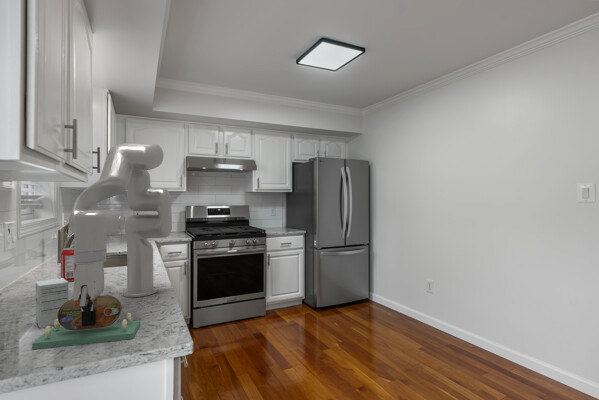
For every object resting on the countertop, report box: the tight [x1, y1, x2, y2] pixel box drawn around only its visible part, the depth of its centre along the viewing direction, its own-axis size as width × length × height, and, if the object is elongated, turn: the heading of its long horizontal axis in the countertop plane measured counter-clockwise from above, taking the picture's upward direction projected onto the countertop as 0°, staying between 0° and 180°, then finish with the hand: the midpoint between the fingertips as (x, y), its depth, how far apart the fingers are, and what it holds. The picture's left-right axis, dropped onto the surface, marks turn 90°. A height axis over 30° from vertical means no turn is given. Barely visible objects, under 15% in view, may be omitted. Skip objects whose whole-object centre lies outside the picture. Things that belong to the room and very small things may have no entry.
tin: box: [58, 294, 123, 330], centre depth 91 cm, size 15×3×8 cm, turn 105°
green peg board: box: [31, 312, 141, 350], centre depth 90 cm, size 10×23×5 cm, turn 106°
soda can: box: [60, 247, 76, 283], centre depth 153 cm, size 8×8×15 cm
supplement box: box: [35, 277, 69, 329], centre depth 101 cm, size 7×7×13 cm
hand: (90, 322), depth 91 cm, fingers closed on tin, 2 cm apart
